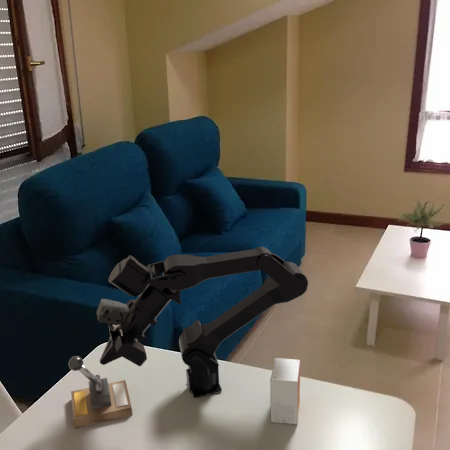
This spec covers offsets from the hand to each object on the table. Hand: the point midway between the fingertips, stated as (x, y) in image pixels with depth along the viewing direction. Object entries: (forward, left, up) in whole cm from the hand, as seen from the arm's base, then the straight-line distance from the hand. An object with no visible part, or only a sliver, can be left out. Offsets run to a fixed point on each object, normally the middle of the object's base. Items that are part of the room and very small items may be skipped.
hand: (101, 363), depth 114 cm
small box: (-36, +15, -11) cm, 40 cm away
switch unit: (+1, 0, -11) cm, 11 cm away
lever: (+1, 0, -5) cm, 5 cm away
